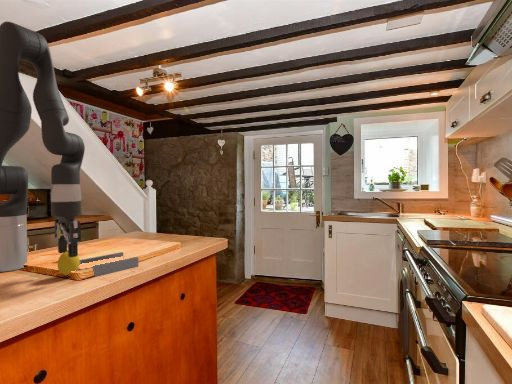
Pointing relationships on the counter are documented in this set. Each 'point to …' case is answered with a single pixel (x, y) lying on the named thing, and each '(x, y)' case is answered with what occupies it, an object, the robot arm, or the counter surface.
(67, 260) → the lemon
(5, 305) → the counter surface
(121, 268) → the guide channel
